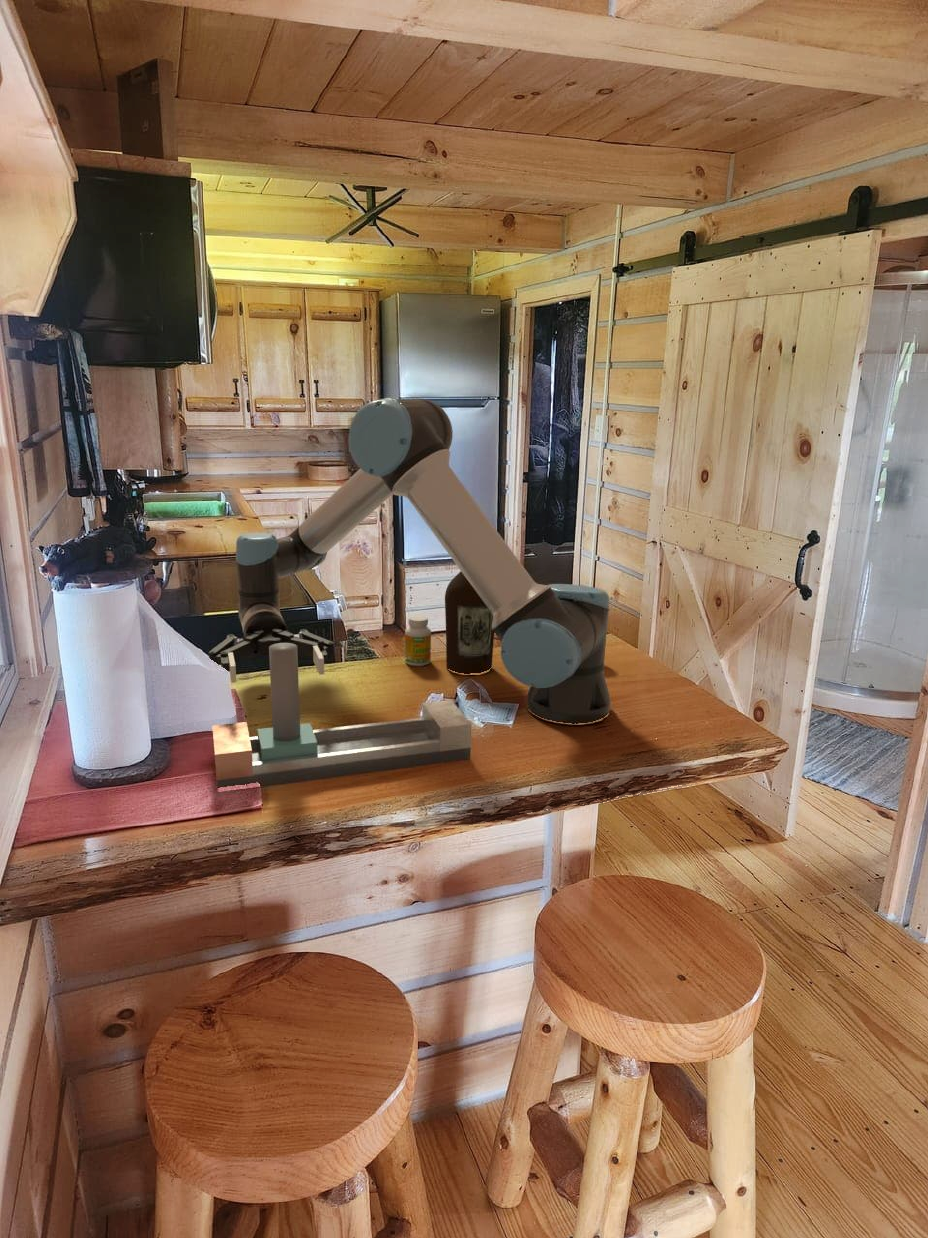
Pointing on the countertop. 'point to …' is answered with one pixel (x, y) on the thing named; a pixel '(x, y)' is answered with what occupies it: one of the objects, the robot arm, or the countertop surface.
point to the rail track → (347, 749)
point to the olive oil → (467, 628)
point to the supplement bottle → (418, 641)
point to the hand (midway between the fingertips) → (278, 670)
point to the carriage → (285, 710)
